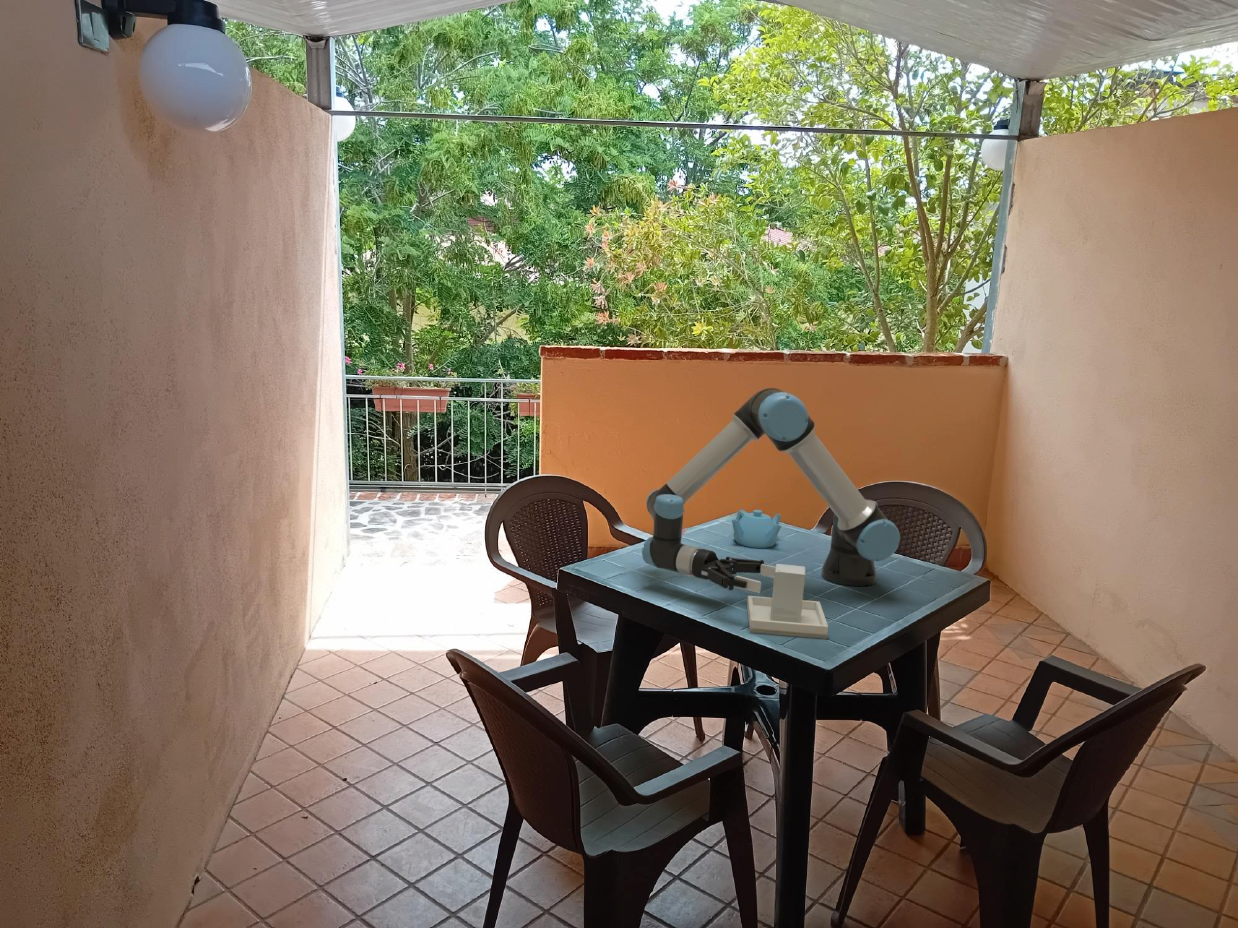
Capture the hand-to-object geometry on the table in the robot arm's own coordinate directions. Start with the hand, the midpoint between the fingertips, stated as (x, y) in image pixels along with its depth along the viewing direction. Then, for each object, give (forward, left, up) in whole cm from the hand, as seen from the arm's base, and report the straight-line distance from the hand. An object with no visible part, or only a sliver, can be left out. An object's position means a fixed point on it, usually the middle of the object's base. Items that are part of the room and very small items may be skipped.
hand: (772, 581), depth 230 cm
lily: (+26, -45, -10) cm, 53 cm away
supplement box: (-4, +2, -9) cm, 10 cm away
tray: (-4, +2, -10) cm, 10 cm away
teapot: (0, -69, -10) cm, 70 cm away
